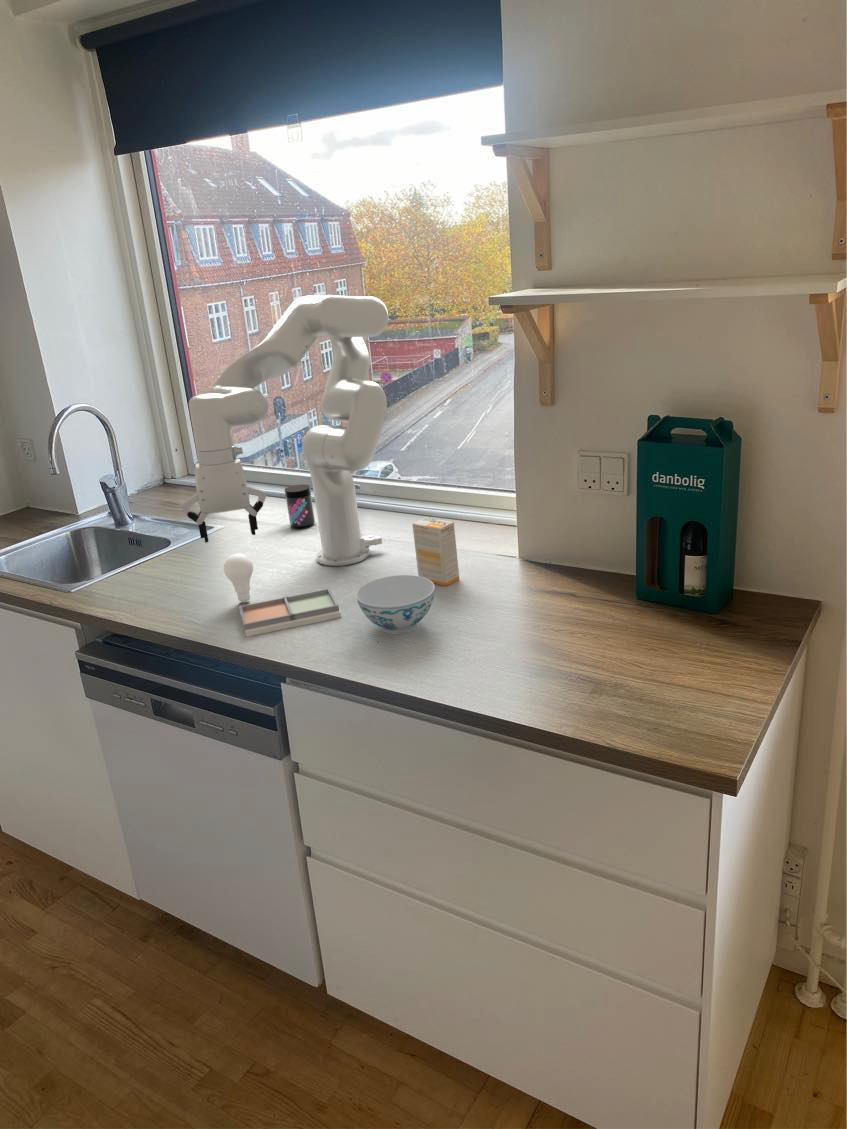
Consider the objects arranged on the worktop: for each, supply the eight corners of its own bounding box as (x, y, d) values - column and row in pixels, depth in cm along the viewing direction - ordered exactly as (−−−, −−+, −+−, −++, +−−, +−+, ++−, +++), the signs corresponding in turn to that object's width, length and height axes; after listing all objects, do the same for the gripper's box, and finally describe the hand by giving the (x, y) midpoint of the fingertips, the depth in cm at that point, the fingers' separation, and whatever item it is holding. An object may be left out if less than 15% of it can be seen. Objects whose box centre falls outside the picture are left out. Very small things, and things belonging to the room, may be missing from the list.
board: (329, 595, 185) (328, 586, 184) (341, 617, 174) (339, 607, 173) (240, 613, 181) (238, 604, 180) (246, 636, 170) (244, 626, 169)
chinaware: (345, 628, 169) (340, 592, 166) (407, 604, 177) (403, 568, 174) (390, 652, 158) (385, 613, 155) (454, 625, 166) (450, 587, 163)
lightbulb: (235, 610, 183) (225, 562, 179) (227, 601, 188) (217, 554, 184) (262, 602, 185) (254, 554, 181) (254, 594, 190) (245, 547, 186)
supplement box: (460, 579, 187) (455, 521, 182) (445, 587, 183) (440, 528, 179) (432, 572, 192) (426, 516, 187) (417, 579, 189) (411, 522, 184)
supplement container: (285, 526, 233) (279, 489, 229) (306, 519, 237) (301, 483, 233) (299, 531, 228) (293, 493, 224) (320, 524, 232) (314, 486, 228)
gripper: (257, 447, 180) (269, 525, 186) (172, 458, 176) (186, 538, 182) (262, 454, 173) (273, 535, 179) (173, 466, 169) (188, 549, 175)
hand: (230, 537), depth 180 cm, fingers open, 9 cm apart
